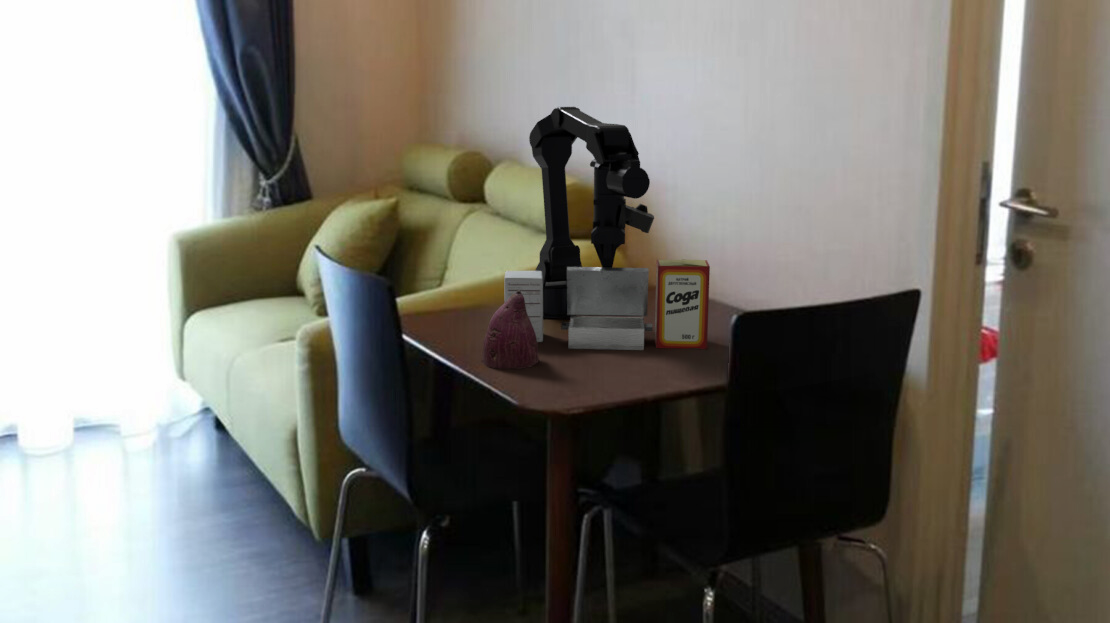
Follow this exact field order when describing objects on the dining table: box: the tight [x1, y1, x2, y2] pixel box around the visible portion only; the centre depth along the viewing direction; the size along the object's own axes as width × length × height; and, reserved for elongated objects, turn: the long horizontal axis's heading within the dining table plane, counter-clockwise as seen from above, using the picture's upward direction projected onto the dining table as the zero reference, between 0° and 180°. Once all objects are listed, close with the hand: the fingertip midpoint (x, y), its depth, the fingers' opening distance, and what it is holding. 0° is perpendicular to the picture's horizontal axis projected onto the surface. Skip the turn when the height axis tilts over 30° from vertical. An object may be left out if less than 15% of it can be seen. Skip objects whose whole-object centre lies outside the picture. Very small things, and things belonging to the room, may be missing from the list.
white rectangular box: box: [560, 315, 653, 351], centre depth 228 cm, size 17×10×4 cm, turn 87°
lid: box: [567, 266, 650, 318], centre depth 230 cm, size 15×10×2 cm
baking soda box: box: [654, 259, 711, 350], centre depth 226 cm, size 10×6×16 cm
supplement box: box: [503, 270, 544, 343], centre depth 231 cm, size 7×7×13 cm
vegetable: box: [481, 290, 539, 370], centre depth 213 cm, size 10×10×15 cm
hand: (608, 274), depth 229 cm, fingers closed
